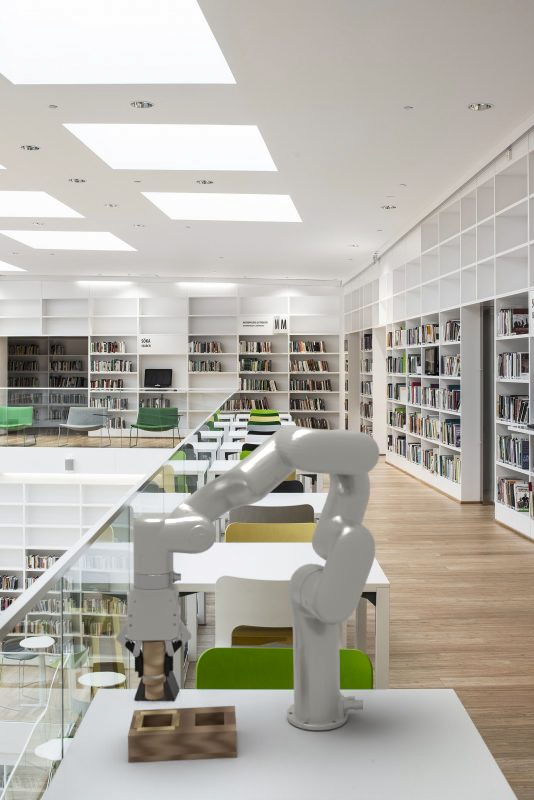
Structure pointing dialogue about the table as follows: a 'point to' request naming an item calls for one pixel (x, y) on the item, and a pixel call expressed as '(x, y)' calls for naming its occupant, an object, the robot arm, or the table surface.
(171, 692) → the phone stand
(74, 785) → the table surface
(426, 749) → the table surface
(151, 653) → the peg
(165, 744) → the board
